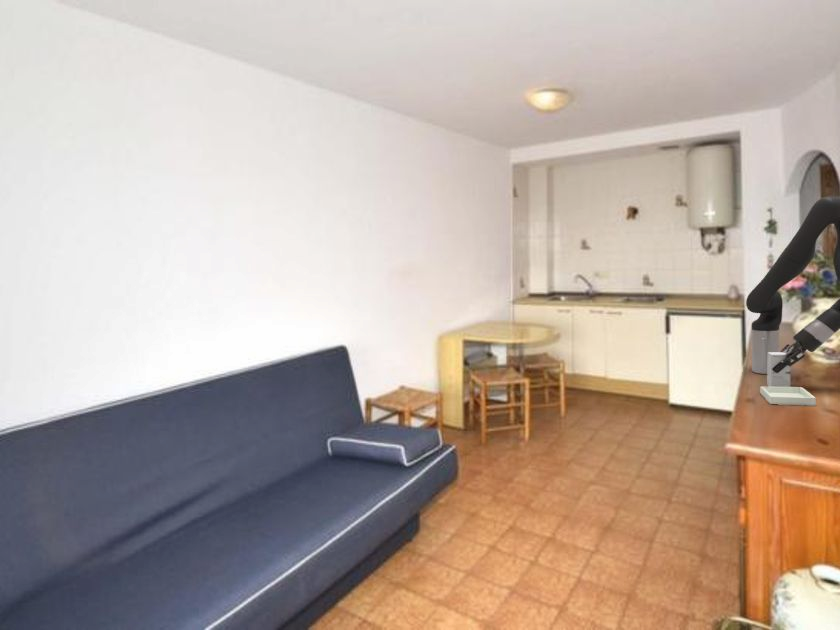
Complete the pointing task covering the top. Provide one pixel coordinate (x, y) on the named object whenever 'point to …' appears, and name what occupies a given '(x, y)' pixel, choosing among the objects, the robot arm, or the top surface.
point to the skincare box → (777, 378)
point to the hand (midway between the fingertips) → (772, 369)
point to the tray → (787, 396)
